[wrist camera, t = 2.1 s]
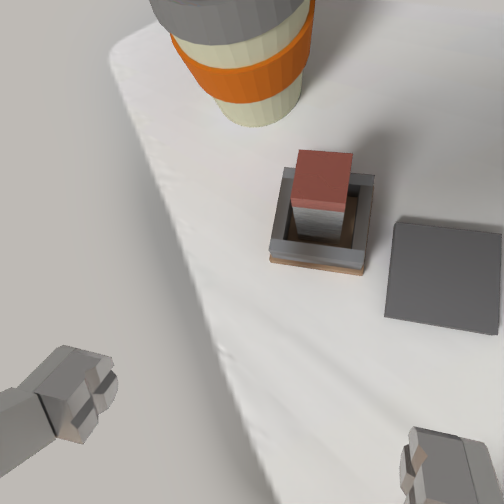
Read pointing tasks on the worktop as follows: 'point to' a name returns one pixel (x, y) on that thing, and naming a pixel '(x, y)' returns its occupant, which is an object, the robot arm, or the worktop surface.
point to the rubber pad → (445, 277)
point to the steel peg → (320, 194)
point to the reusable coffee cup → (243, 52)
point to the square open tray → (320, 253)
